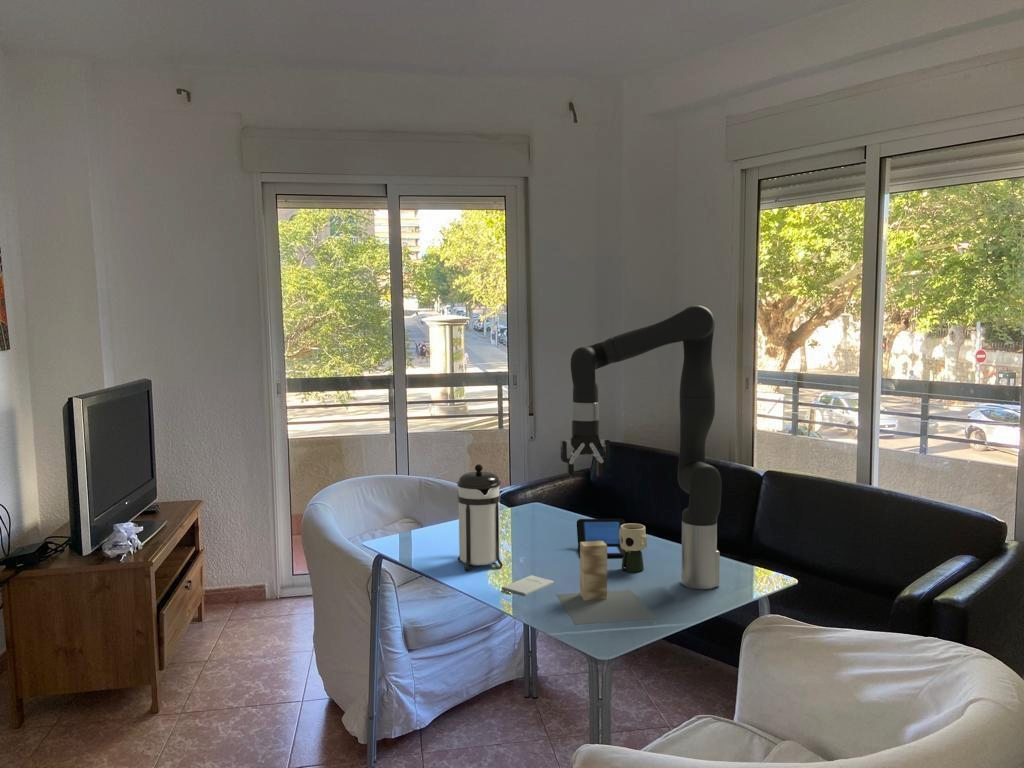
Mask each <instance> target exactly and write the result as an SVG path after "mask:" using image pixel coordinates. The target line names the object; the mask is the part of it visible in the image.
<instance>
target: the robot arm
mask: <svg viewBox="0 0 1024 768" xmlns="http://www.w3.org/2000/svg"><path fill="white" fill-rule="evenodd" d="M715 325H716V320H715V316H714V314H713V313H712V311H711V310H710V309H709V308H707V307H705V306H703V305H700V304H694V305H693V304H692V305H689V306H687V307H685V308H684V309H683V310H682V311H680V312H678V313H676V314H674V315H672V316H671V317H669V318H667V319H664V320H661V321H659V322H657V323H654V324H651V325H648V326H645V327H640V328H637V329H634V330H630V331H626V332H624V333H620V334H618V335H615V336H612V337H609V338H607V339H605V340H604V341H601V342H597V343H593V344H591V345H587V346H581V347H578V348H576V349H575V350H574V351H573V352H572V354H571V358H570V374H571V379H572V380H571V381H572V407H571V408H572V409H571V438H570V440H569V439H568V440H567V439H561V440H560V460H561V462H563V463H567V475H569V478H574V477H575V468H574V467H575V464H574V462H575V460H576V459H577V458H578V457H579V455H581V456H582V455H590V456H591V455H592V456H593V457H594V458H595V459H596V461H597V462H595V463H596V464H595V465H596V466H595V467H596V468H595V469H596V470H595V471H596V473H595V474H596V476H597V477H601V476H602V475H603V473H604V469H603V468H604V463H605V462H607V461H610V457H611V456H610V455H611V440H610V439H607V438H604V439H603V438H602V439H600V432H599V431H600V408H599V386H598V383H597V382H596V370H598V369H601V368H603V367H606V366H608V365H611V364H615V363H620V362H622V361H626V360H628V359H629V360H630V359H631V358H635V357H638V356H640V355H643V354H646V353H648V352H650V351H652V350H655V349H658V348H660V347H663V346H667V345H671V344H674V343H681V342H682V344H683V345H682V347H683V364H682V371H681V376H680V382H679V383H680V384H679V437H680V438H679V442H680V443H679V455H678V464H677V465H678V466H677V482H678V485H679V487H680V488H681V490H682V491H683V492H685V493H686V494H688V495H689V498H688V506H687V508H684V509H683V510H682V513H681V569H680V570H681V575H680V576H681V578H680V579H681V584H682V585H683V587H686V588H688V589H689V588H690V589H693V590H711V589H713V588H716V587H720V565H721V563H720V562H721V560H720V559H721V557H720V555H721V554H720V553H721V552H720V551H719V550H718V547H717V546H718V516H719V514H720V512H721V505H722V492H723V491H722V487H723V486H722V485H723V484H722V477H721V474H720V471H719V470H718V469H717V468H716V467H715V466H713V465H710V464H709V463H707V462H706V461H707V460H706V441H707V436H708V434H709V431H710V429H711V427H712V424H713V421H714V418H715V413H716V397H715V396H716V391H715V379H714V368H713V367H714V366H713V357H712V356H713V353H712V352H713V340H714V333H715ZM600 444H601V447H602V448H603V453H602V456H601V454H600V452H599V451H598V449H597V448H598V447H599V446H600ZM570 446H572V450H571V452H570V453H569V456H568V451H567V450H568V448H569V447H570Z"/></svg>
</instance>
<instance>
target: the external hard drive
mask: <svg viewBox="0 0 1024 768" xmlns="http://www.w3.org/2000/svg"><path fill="white" fill-rule="evenodd" d="M552 584H555V581H553V580H551V579H547V578H543V577H539V576H536V575H528V576H526V577H522V578H520V579H519V580H517V581H513V582H511V583H509V584H506V585H504V586H502V587H501V591H502V590H504V591H508V592H511V593H516V594H519V595H522V596H528V595H530V594H532V593H535V592H537V591H539V590H542V589H544V588H546V587H548V586H551V585H552ZM504 591H503V592H504ZM508 592H507V593H508ZM511 593H510V594H511Z"/></svg>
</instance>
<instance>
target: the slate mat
mask: <svg viewBox="0 0 1024 768" xmlns="http://www.w3.org/2000/svg"><path fill="white" fill-rule="evenodd" d="M556 596H557V598H558V600H559V601H560V603H561V604H562V606H563V608H564V609H565V611H566V612H567V614H568V615H569V617H570V619H571V620H572V622H573V623H574V625H586V624H587V625H588V624H603V623H616V622H630V621H642V620H655V619H656V620H657V619H658V618H657V617H656V615H655V614H654V613H653V612H652V611H651V610H650V609H649V608H648V607H647V606H646V605H645V604H644V603H643V601H641V599H640V598H639V597H638V596H637V595H636V594H635V593H634V592H633V590H631V589H621V590H620V589H619V590H618V589H617V590H607V599H599V600H583V598H582V597H581V595H580V592H575V593H572V592H571V593H561V594H558V593H556Z"/></svg>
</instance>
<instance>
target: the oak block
mask: <svg viewBox="0 0 1024 768" xmlns="http://www.w3.org/2000/svg"><path fill="white" fill-rule="evenodd" d="M579 561H580V562H579V568H580V569H579V574H580V575H579V580H580V581H579V582H580V583H579V584H580V585H579V591H580V592H579V593H580V595H581V597H582V598H583V600H599V599H607V591H608V558H607V545H606V544H605V543H604V542H603V541H589V542H580V552H579Z"/></svg>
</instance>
